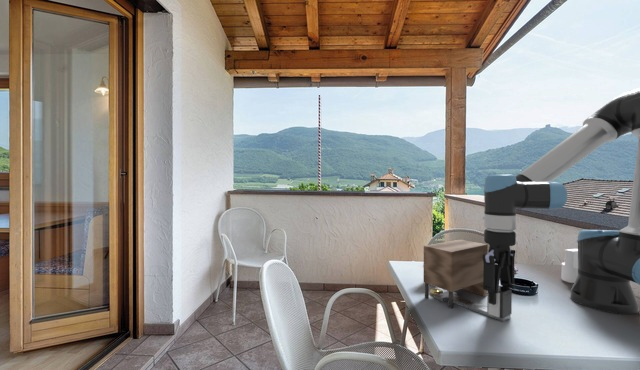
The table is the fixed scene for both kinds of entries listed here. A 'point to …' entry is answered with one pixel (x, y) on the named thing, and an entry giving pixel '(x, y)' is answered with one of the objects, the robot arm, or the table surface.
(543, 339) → the table surface
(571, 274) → the cylinder with rectangular tab
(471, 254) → the cabinet
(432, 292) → the brass disc
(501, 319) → the flat bar with block
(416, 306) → the table surface
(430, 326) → the table surface
